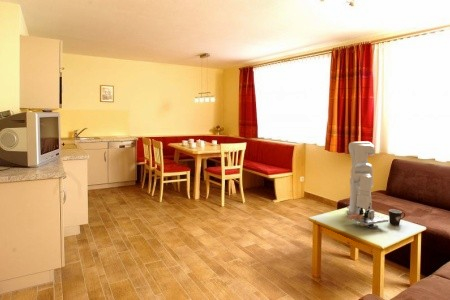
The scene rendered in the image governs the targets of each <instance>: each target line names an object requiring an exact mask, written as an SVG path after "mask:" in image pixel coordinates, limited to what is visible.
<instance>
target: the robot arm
mask: <svg viewBox="0 0 450 300" xmlns="http://www.w3.org/2000/svg"><path fill="white" fill-rule="evenodd" d="M348 152H349V156H350V157H351V158H350V160H351V166H350V167H351V168H350V177H349V178H350V179H349V186H350V195H349V205H348V206H347V207H346V209H347V215H350V214H354V213H356V214H357V213H359V215H362V214H363V213H364V218H368V213H369V212H370V211H372V210H373V207H372V205H373V202H372V188H373V186H374V170H373V169H374V168H373V165H372V164H371V163H369V159H368V156H374V155H375V154H376V148H375V145H374V144H373V143H372V142H371V141H352V142H349V144H348Z"/></svg>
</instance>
